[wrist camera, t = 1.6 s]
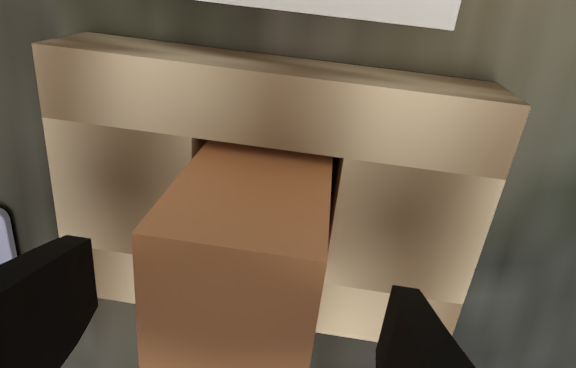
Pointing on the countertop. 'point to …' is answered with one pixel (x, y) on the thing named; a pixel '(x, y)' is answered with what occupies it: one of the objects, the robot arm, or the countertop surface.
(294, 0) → the mat
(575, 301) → the countertop surface
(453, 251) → the beige holed block
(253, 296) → the plug
